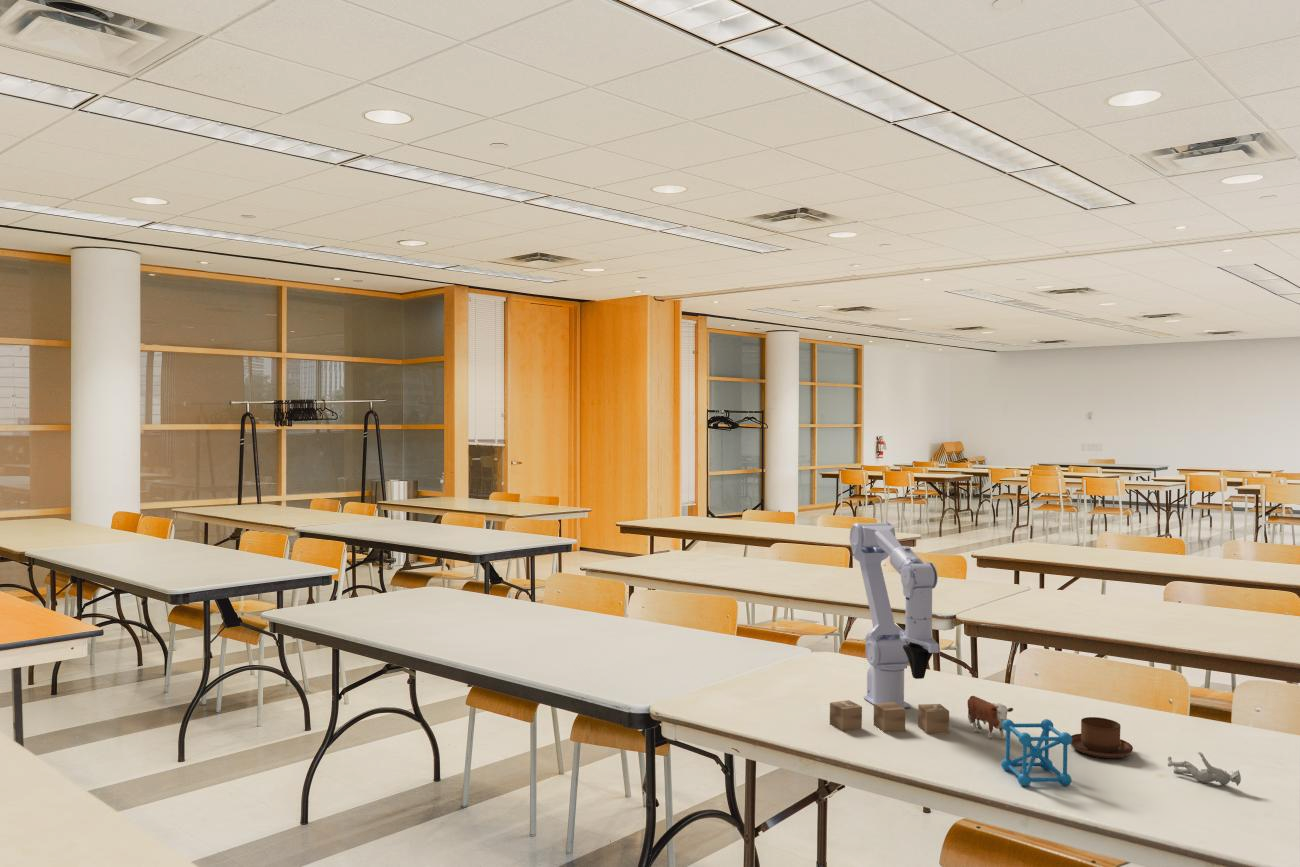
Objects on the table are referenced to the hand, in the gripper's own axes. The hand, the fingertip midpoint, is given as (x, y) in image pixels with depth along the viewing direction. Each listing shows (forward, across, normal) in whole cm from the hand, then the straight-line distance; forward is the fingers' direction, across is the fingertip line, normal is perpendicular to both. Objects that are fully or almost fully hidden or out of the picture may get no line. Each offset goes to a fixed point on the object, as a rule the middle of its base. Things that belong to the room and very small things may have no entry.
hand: (918, 677), depth 212 cm
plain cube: (+10, +1, -8) cm, 13 cm away
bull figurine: (+11, +10, +12) cm, 19 cm away
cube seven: (+11, +4, +2) cm, 11 cm away
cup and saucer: (+11, +23, +29) cm, 38 cm away
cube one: (+10, -2, -17) cm, 20 cm away
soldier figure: (+11, +40, +38) cm, 56 cm away
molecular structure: (+11, +33, +7) cm, 36 cm away
